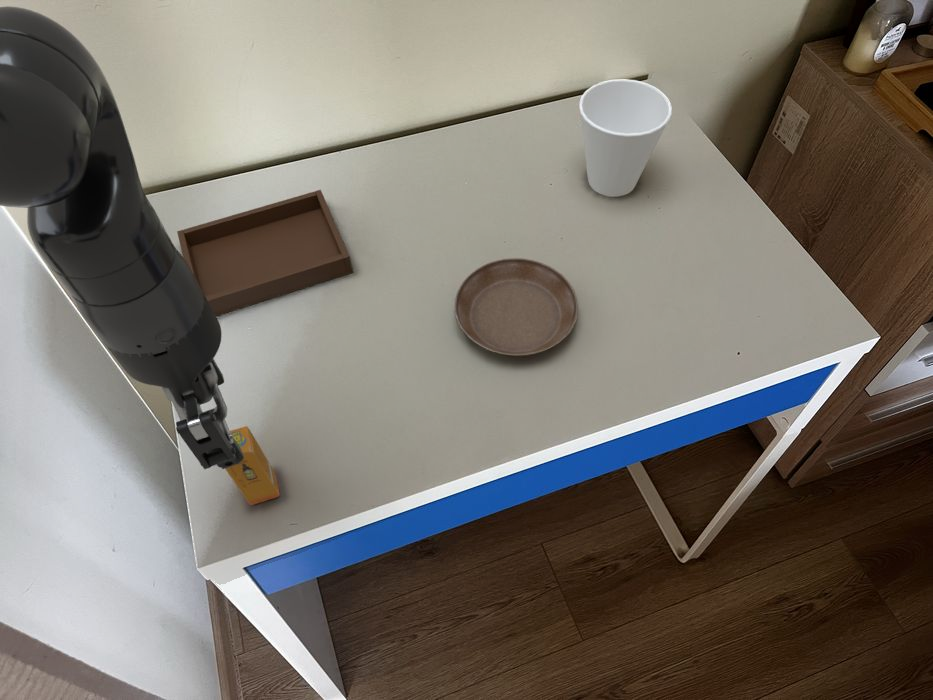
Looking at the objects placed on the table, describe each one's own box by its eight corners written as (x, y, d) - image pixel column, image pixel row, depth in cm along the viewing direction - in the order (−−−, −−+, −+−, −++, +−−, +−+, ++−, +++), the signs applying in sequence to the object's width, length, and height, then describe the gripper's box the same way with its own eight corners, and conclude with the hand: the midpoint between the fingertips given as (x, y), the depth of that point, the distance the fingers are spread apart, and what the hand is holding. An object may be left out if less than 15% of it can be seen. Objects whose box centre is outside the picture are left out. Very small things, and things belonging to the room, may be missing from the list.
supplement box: (275, 469, 76) (249, 423, 67) (280, 497, 74) (254, 454, 65) (244, 478, 75) (214, 433, 67) (249, 507, 73) (218, 464, 65)
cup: (651, 154, 103) (669, 79, 93) (656, 211, 96) (675, 136, 86) (570, 151, 104) (579, 76, 94) (569, 207, 97) (578, 133, 87)
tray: (203, 320, 88) (194, 304, 85) (185, 247, 95) (176, 231, 92) (353, 272, 92) (349, 256, 89) (324, 206, 99) (320, 189, 96)
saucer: (532, 388, 80) (533, 375, 78) (431, 328, 86) (429, 314, 84) (598, 306, 87) (601, 292, 85) (501, 255, 93) (501, 241, 90)
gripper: (85, 256, 53) (168, 374, 66) (104, 406, 45) (194, 506, 58) (185, 226, 54) (246, 348, 67) (221, 367, 46) (282, 473, 60)
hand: (222, 421), depth 63 cm, fingers open, 8 cm apart
